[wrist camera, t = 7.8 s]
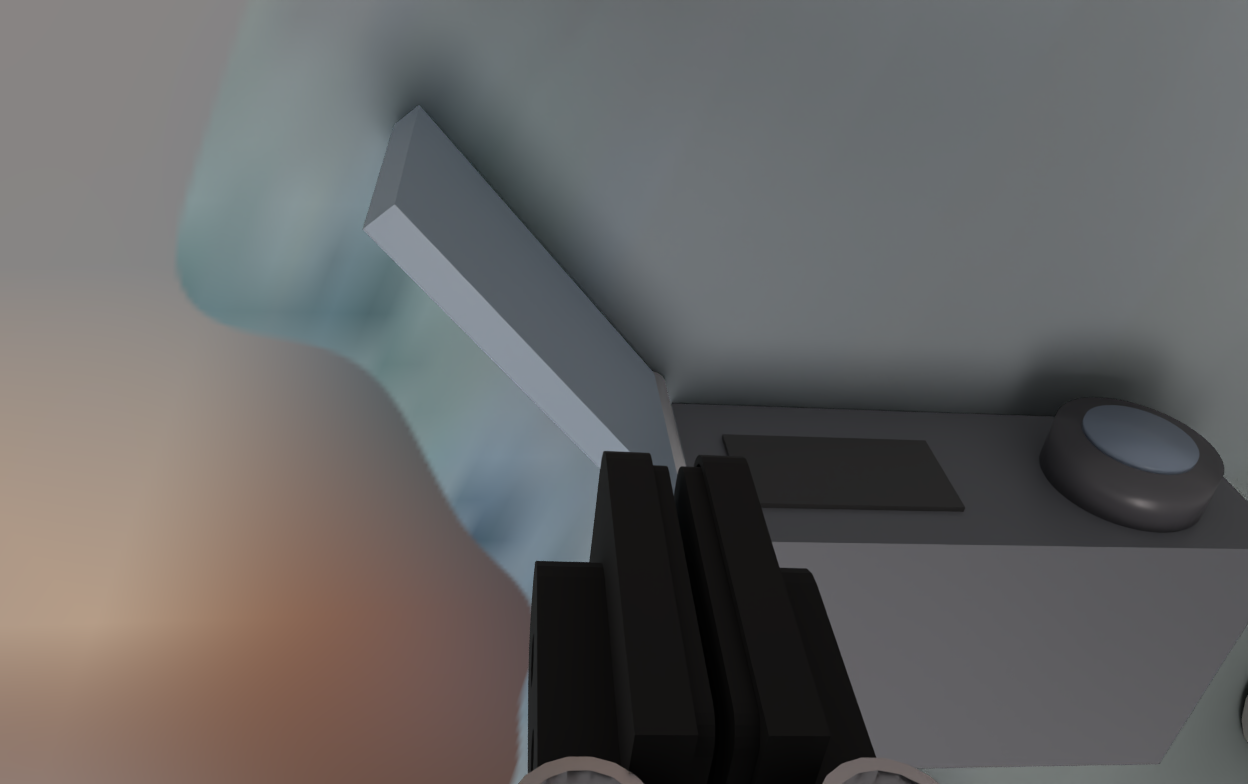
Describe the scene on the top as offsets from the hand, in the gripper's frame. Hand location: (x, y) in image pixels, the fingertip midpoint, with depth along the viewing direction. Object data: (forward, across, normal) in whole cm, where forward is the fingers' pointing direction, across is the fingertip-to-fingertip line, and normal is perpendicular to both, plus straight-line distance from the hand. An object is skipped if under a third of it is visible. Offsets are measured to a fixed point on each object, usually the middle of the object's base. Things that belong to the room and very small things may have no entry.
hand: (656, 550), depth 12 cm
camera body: (+15, -11, +12) cm, 23 cm away
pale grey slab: (+15, +1, +4) cm, 15 cm away
